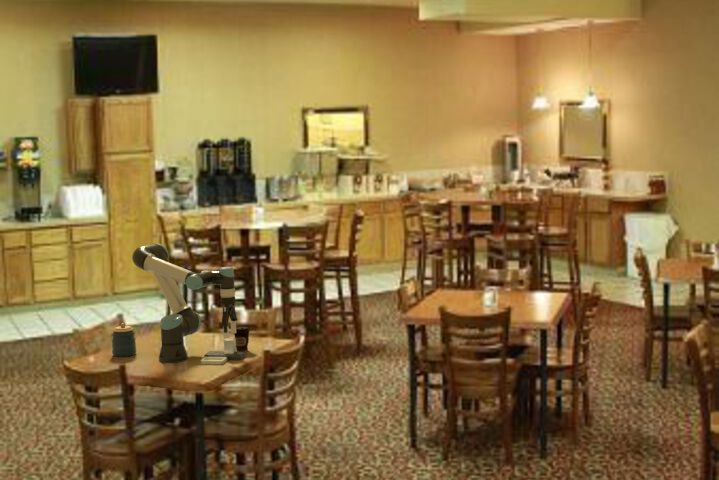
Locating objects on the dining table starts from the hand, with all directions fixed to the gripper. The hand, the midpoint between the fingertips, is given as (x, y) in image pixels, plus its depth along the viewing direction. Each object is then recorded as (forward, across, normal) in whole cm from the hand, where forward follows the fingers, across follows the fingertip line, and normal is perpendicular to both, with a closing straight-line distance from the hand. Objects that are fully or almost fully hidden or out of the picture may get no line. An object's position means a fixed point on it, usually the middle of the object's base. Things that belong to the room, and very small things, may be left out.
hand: (230, 335), depth 535 cm
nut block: (+12, 0, 0) cm, 12 cm away
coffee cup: (+12, +16, -2) cm, 20 cm away
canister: (+11, +4, +62) cm, 63 cm away
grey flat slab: (+12, 0, +4) cm, 13 cm away
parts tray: (+12, -10, +6) cm, 17 cm away
